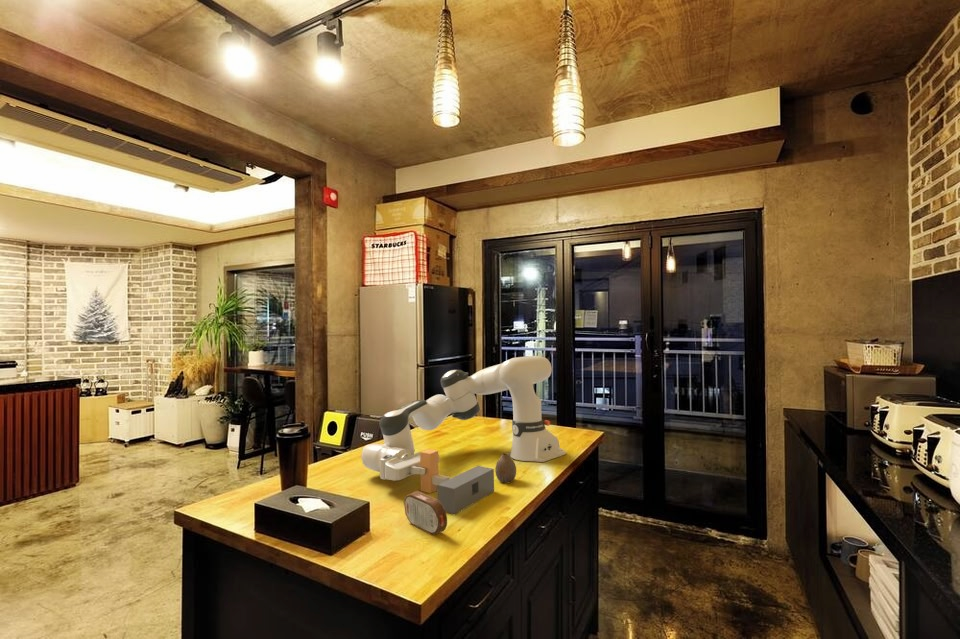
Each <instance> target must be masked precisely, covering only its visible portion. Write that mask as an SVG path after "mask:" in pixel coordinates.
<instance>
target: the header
mask: <svg viewBox="0 0 960 639" xmlns="http://www.w3.org/2000/svg"><path fill="white" fill-rule="evenodd" d="M494 492H495V468H492V467H487V466H481V465H476V466H474V467H472V468H470V469H468V470H466V471H464V472H462V473H459V474H457V475H455V476H453V477H451V478H450V479H448V480H446V481H444V482H442V483H440V484H438V485H437V490H436V493H437V494H436V495H437V496H436V499H437V500H438V501H439V502H440V503H441V504H442V505H443V507H444V509H445V512H446V514H447V513H448V514H450V515H454V514H455V515H457V514H458V513H460V512H461V510H462V511H463V510H465V509H467V508H468V507H470V506H472V505H473V504H475V503H477V502H479V501H481V500H482V499H484V498H485V497H487V496H489V495H491V494H492V493H494ZM459 511H460V512H459ZM457 512H458V513H457Z"/></svg>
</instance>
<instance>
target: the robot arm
mask: <svg viewBox="0 0 960 639" xmlns="http://www.w3.org/2000/svg"><path fill="white" fill-rule="evenodd" d="M552 369H553V368H552V364H551V362H550V361H549V359H548V358H546V357H543V356H539V355H528V356H527V355H526V356H518V357H512V358H510V359H507V360H505V361H503V362H502V363H499V364H495V365H492V366H488V367H485V368H483V369H481V370H479V371H476V372H475V373H473V374H472V375H470V376H469V372H468V371H467V372H465V371H463V370H462V369H451V370H449V371H447V372H445V373H444V374H443V375H442V376H441V378H440V380H439V381H440V385H441V388H442V389H443V392H444V393H445V394H435V395H433V396H431V397H429V398H428V399H426V400H425V399H418V400H414V401H411V402H408V403H407V404H405V405H403V406H401V407H398V408H397V409H394V410H391V411H388V412H386V413H384V414H383V415H382V416H381V418H380V420H379V428H380V431H381V433H382V436H383V437H382V438H383V442H384V443H383V444H381V443H380V444H377V443H370V444H366V445H365V446H364V447H363V449H362V451H361V455H360V456H361V461H362V464H363V466H364V467H365V468H367V469H369V470H372V471H373V472H378V473H379V476H380V479H381V480H388V481H393V482H394V481H401V480H404V479H406V478H408V477H410V476H414V475H421V474H423V475H424V474H426V473H427V468H426V467H420V452H421V451H418V452H417V453H416V452H415V451H416V450H415V445H414V440H413V436H412V431H411V426H410V418H411V417H412V419H413V422H414V423H415V425H416V426H417V427H418V428H420V429H422V430H424V431H434V430H436V429H437V428H438V427H439V426H440V425H441V424H442V423H444V421H445V420H446V418H447V417H448V416H449V415H451V416H452V418H454V419H458V420H461V421H467V420H470V419H472V418H474V417H476V415H478V413H479V412H480V410H481V406H480V403H479V402H478V400H477V397H476V395H478V396H479V395H480V396H481V395H482V396H484V395H485V396H486V395H492V394H496V393H501V392H504V391H509V394H510V396H511V401H512V415H513V416H512V417H513V419H512V422H511V424H512V425H511V426H512V427H511V428H512V429H511V430H512V444H511V450H510V452H509V456H510V457H511V459H512V460H513V459H514V460H516V461H523V462H538V463H544V462H547V461H550V460H553V459H555V458H560V457H562V456H565V455H567V452H566V450H565V449H563V448H562V447H561V448H560V441H559V439H558V437H557V436H555V435H554V433H552V432H550V431H549V430H548V429H546V426H548V427H549V426H550V420H547V419H545V420H544V419H542V400H541V398H540V397H539V395H537V394H536V392H535V389H534V385H535V384H539V383H542V382H544V381H546V380H548V379H549V378H550V376H551V375H552V372H553V371H552ZM475 394H476V395H475ZM438 463H439V464H440V454H439V453H438Z"/></svg>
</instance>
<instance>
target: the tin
mask: <svg viewBox="0 0 960 639" xmlns="http://www.w3.org/2000/svg"><path fill="white" fill-rule="evenodd" d="M403 500H404V503H403V504H404V514H405V517H406V519H407V520H408V521H409V522H410V524H411V525H412V526H415V527H416V528H418V529H420V530H421V531H424V532H425V533H427V534H430V535H433V536H434V535H439V533H442V532H444V531H445V530H446V529H447V526H448V516H447V512H445V509H444V507H443V505H442V504H441V503H440V502H439V501H438V500H437V498H435V497H433V496H431V495H429V494H425V492H422V491H419V490H414V491H413V492H411V493H409V494H407V495H405V497H404V499H403Z"/></svg>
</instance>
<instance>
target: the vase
mask: <svg viewBox="0 0 960 639" xmlns="http://www.w3.org/2000/svg"><path fill="white" fill-rule="evenodd" d="M494 473H495V476H496V478H497V480H498V481H499V482H500V483H503V484H509V483H512V482H513V481H514V480H515V478H516V475H517V466H516V462H514V460H513V458H511V457H510V453H506V452H505V453H502V454H501V456H500V457H499V459H498V460H497V462H496V464H495V467H494Z"/></svg>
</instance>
